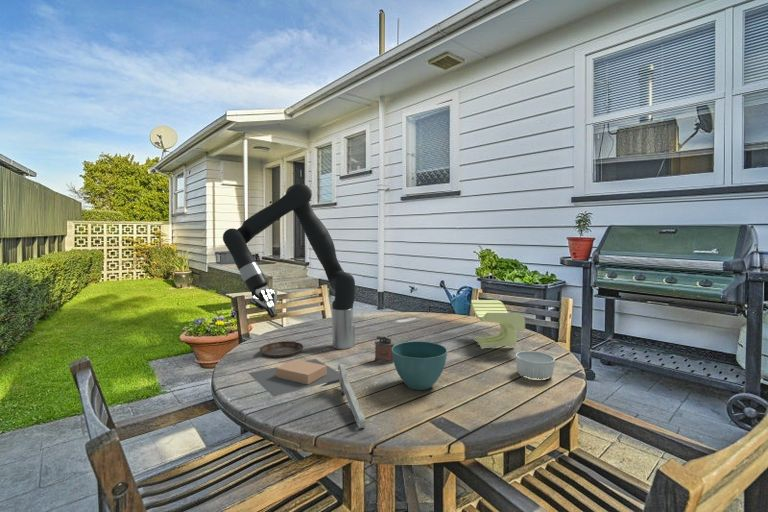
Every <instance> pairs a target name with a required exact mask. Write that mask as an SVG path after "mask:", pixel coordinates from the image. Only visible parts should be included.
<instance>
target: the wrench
mask: <svg viewBox="0 0 768 512" xmlns="http://www.w3.org/2000/svg"><path fill="white" fill-rule="evenodd" d="M337 370H338V372H339V373H340V380H339V382H338V383H339V386H340V393H341V394H342V393H343V394H344V395H345V397H346V400H347V402H348V404H349V409H350V410H351V413H352V414H353V418H354V420H355V423H356V425H357V427H358V426H359V427H358V429H366V427H367V426H366V425H367V423H366V421H367V420H366V417H365V415H364V413H363V410H362V408H361V405H360V404H359V402H358V401H359V400H358V398H357V397H356V394H355V392H354V390H353V388H352V386H351V384H350V381H349V380H350V379H349V377H348V372H347V368H346V364H344V363H343V364H338V366H337Z"/></svg>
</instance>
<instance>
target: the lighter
mask: <svg viewBox="0 0 768 512" xmlns="http://www.w3.org/2000/svg"><path fill="white" fill-rule="evenodd" d="M374 345H375V347H374V348H375V349H374V352H375V353H374V357H375V358H374V361H375V362H377V363H378V362H379V363H383V362H384V364H394V361H393V357H392V348H393V347H394V346H395V343H394V342H392V338H391V337H390V336H387V335H385V336H382V335H376V341H374Z"/></svg>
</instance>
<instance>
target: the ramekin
mask: <svg viewBox="0 0 768 512" xmlns="http://www.w3.org/2000/svg"><path fill="white" fill-rule="evenodd" d="M514 358H515V362H516V363H515V364H516V371H517V373H518V374H521V375H523V376H527V377H530V378H537V379H538V378H539V379H543V378H548V377H551V376H552V377H553V375H554V369H555V363H556V359H555V357H554V356H553V355H551V354H549V353H546V352H543V351H536V350H522V351H518V352H516V353H515V357H514ZM552 377H551V378H552Z"/></svg>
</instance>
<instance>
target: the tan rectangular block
mask: <svg viewBox="0 0 768 512" xmlns="http://www.w3.org/2000/svg"><path fill="white" fill-rule="evenodd" d="M306 361H307V360H301V359H294V360H291V361H289V362H286V363H283V364H282V365H279V366H276V367H277V368H276V376H277V377H278V378H283V379H287V380H291V381H295V382H299V383H303V384H310V383H312V382H314V381H316V380H318V379H319V378H321V377H323V376H325V375H326V374H327V366H328V365H327V364H325V365H321V364H316V363H311V362H306ZM326 365H327V366H326Z"/></svg>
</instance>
